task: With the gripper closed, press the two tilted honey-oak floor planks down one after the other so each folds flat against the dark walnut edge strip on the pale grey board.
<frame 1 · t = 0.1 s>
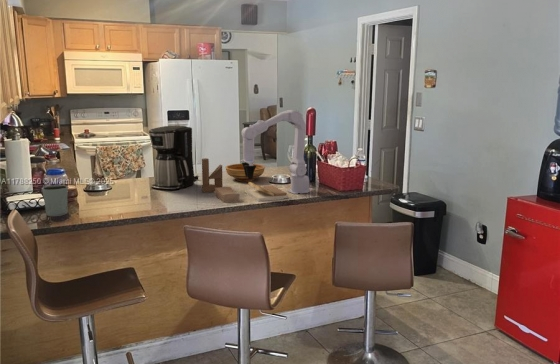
hand: (248, 177, 236), 10 cm above the table, tool pointing down, fingers open, 7 cm apart
floor board: (266, 195, 240), on the table
brick: (227, 199, 234), on the table
wooden bowl: (245, 179, 281), on the table
plank b: (264, 190, 234), point 4 cm above the table, hinge at 25.0°
brown wooden bracket: (212, 191, 249), on the table
plank a: (257, 186, 242), point 4 cm above the table, hinge at 25.0°
gray cup: (57, 214, 204), on the table
coffee maker: (180, 186, 263), on the table
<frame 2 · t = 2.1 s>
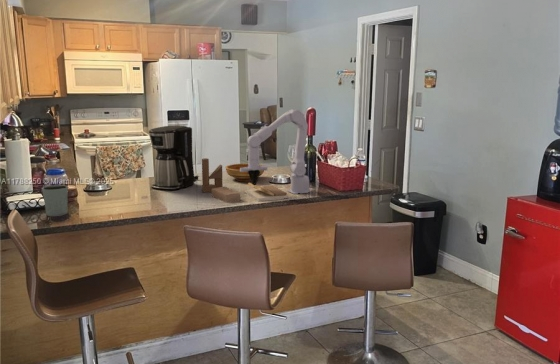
hand: (253, 184, 241), 5 cm above the table, tool pointing down, fingers closed
plank a: (257, 187, 242), point 4 cm above the table, hinge at 21.6°, touching gripper
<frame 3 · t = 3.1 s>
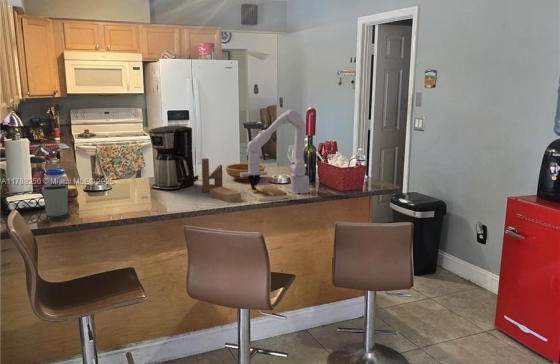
hand: (253, 189, 241), 3 cm above the table, tool pointing down, fingers closed, pressing on plank a
plank a: (257, 190, 242), point 2 cm above the table, hinge at -0.1°, touching gripper
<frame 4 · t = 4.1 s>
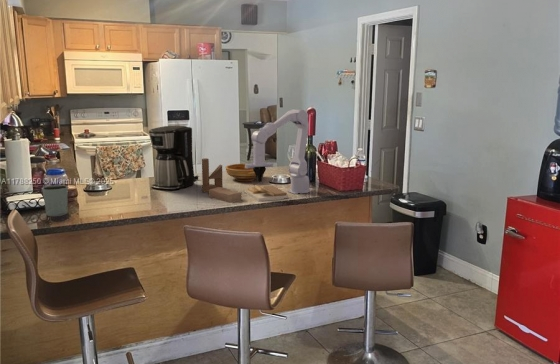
hand: (259, 181, 233), 8 cm above the table, tool pointing down, fingers closed
plank a: (257, 190, 242), point 2 cm above the table, hinge at -0.2°
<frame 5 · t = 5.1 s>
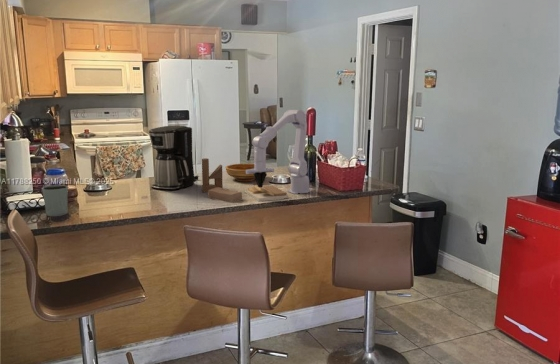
hand: (260, 187, 232), 6 cm above the table, tool pointing down, fingers closed
plank b: (264, 190, 234), point 4 cm above the table, hinge at 24.9°, touching gripper
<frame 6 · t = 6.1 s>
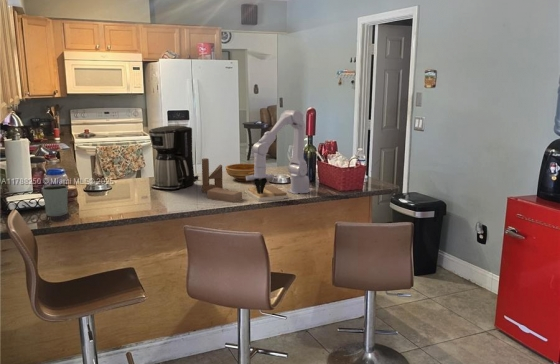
hand: (260, 193, 233), 3 cm above the table, tool pointing down, fingers closed, pressing on plank b
plank b: (263, 193, 234), point 2 cm above the table, hinge at -0.3°, touching gripper
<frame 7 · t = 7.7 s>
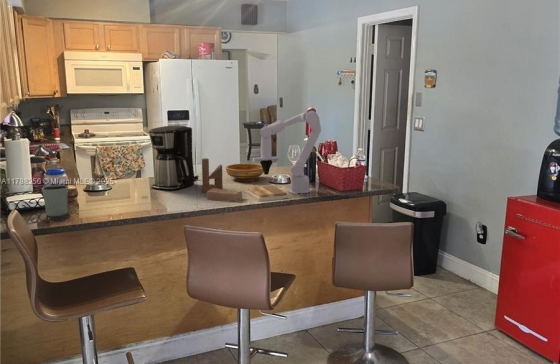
hand: (266, 174, 247), 9 cm above the table, tool pointing down, fingers closed
plank b: (263, 193, 234), point 2 cm above the table, hinge at -0.4°
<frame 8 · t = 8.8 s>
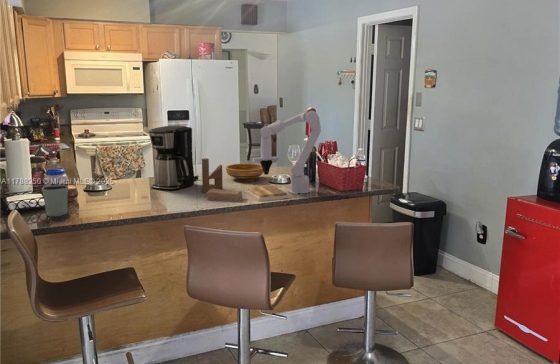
hand: (266, 174, 247), 9 cm above the table, tool pointing down, fingers closed
at the end: plank a at +0° (first picture: +25°); plank b at +0° (first picture: +25°) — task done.
